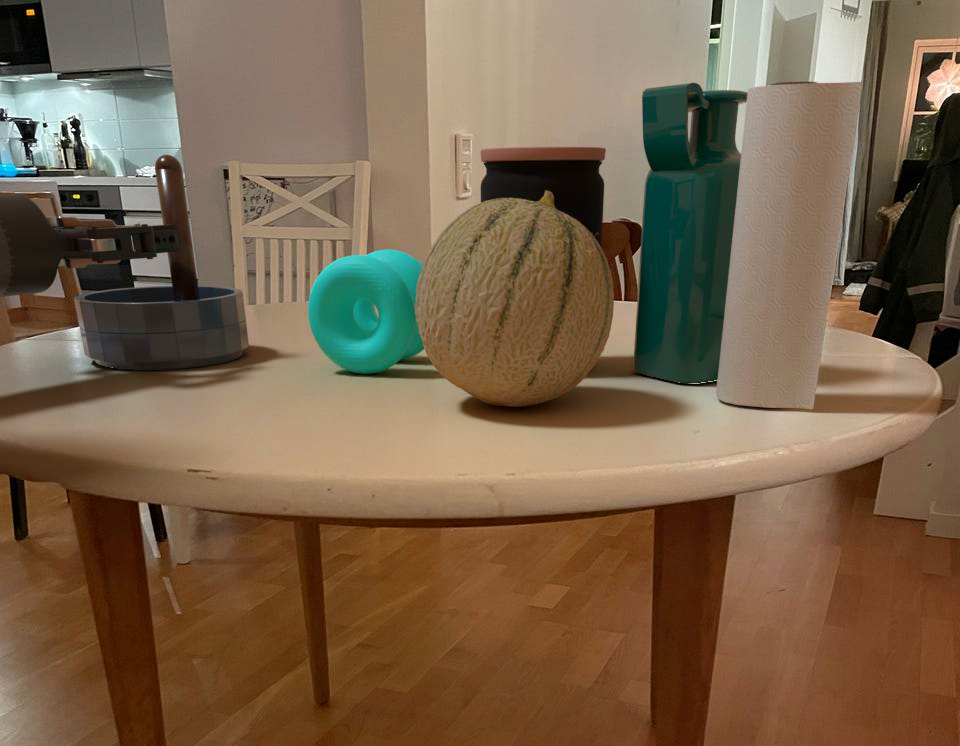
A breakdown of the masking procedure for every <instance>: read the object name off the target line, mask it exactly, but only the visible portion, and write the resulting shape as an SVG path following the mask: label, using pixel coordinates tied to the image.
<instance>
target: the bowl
mask: <svg viewBox="0 0 960 746" xmlns="http://www.w3.org/2000/svg"><path fill="white" fill-rule="evenodd" d="M198 288H199V296H200V299H198V300H186V301H175V300H174V294H173V287H172V285H158V286H157V285H156V286H153V285H152V286H142V287H141V286H137V287H124V288H123V287H122V288H114V289H113V288H112V289H105V290H98V291H91V292H86V293H81V294H78V295H76V296H75V297H73V301H74V307H75V311H76V316H77V322H78V326H79V332H80V338H81V342H82V347H83V352H84V355H85V356H86V357H88V358H89V359H91V360H94V363H95V362H96V363H97V364H99V365H102V366H107V367H113V368H120V369H119V370H122V369H132V370H131V371H168V370H169V371H171V370H182V369H192V368H193V369H194V368H201V367H208V366H215V365H219V364H224V363H227V362H228V363H229V362H231V361H234V360H236V359H237V360H238V358H240V357H242V356H243V351H244V350H247V349H248V348H249V347H250V342H249V334H248V326H247V317H246V309H245V301H244V300H245V299H244V292H243V290H242V289H240V288H236V287H230V286H229V287H228V286H218V285H198ZM96 363H95V364H96ZM97 364H96V365H97ZM99 365H98V366H99ZM102 366H101V367H102ZM133 369H134V370H133Z"/></svg>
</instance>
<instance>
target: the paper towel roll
mask: <svg viewBox="0 0 960 746" xmlns="http://www.w3.org/2000/svg"><path fill="white" fill-rule="evenodd" d="M863 85H864V81H849V82H848V81H846V82H817V81H784V82H783V81H782V82H775V83H771V84H770V85H760V86H754V87H750V88H748V90H747V92H748V94H747V102H746V103H745V104H746V105H745V112H744V113H745V114H744V124H743V132H742V133H743V134H742V141H741V144H742V145H741V150H740V151H741V152H740V153H741V161H740V170H739V180H738V190H737V199H736V209H735V218H734V228H733V237H732V247H731V256H730V266H729V276H728V285H727V295H726V304H725V314H724V323H723V333H722V342H721V352H720V361H719V371H718V381H717V382H716V392H715V393H716V397H717V400H719V401H721V402H724V403H727V404H732V405H737V406H746V407H756V408H757V407H758V408H771V409H785V408H786V409H805V410H806V409H807V410H814V406H815V401H816V400H815V399H816V392H817V386H818V380H819V373H820V368H821V367H820V366H821V359H822V355H823V346H824V339H825V335H826V327H827V321H828V314H829V308H830V301H831V295H832V288H833V281H834V275H835V269H836V261H837V255H838V250H839V241H840V236H841V228H842V223H843V215H844V209H845V203H846V196H847V190H848V183H849V178H850V177H849V176H850V170H851V164H852V158H853V151H854V144H855V137H856V132H857V131H856V130H857V125H858V118H859V110H860V105H861V99H862V92H863Z"/></svg>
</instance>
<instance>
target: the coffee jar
mask: <svg viewBox="0 0 960 746" xmlns="http://www.w3.org/2000/svg"><path fill="white" fill-rule="evenodd" d="M606 152H607V149H606V148H605V147H602V146H601V147H600V146H522V147H520V146H519V147H517V146H515V147H514V146H513V147H494V148H493V147H491V148H482V149H480V161H481V162H482V163H483V165H484V168H485V176H484V177H483V178H482V180H481V183H480V203H482V202H484V201H488V200H492V199H498V198H518V199H525V200H529V201H534V202H536V201H540V199H541V198H542V197H543V196H544V195H545V190H546V191H550V192H552V194H553V196H554V206H555V208H556V209H557V210H559V211H561V212H563V213H565V214H567V215H569V216H570V217H572V218H574V219H576V220H577V221H579V222H580V223H581V224H582V225H583V226H584V227H586V228H587V229H588V231H589V232H590V233H591V234H592V235H593V237H594V238H595V239H596V240H597V242H598V243H599V245H600V247H601V248H602V247H603V246H602V244H603V226H604V225H603V223H604V203H605V201H604V199H605V182H604V181H605V180H604V178H603V177H602V175H601V174H600V167H601V165H602V164H603V161H605V159H606Z"/></svg>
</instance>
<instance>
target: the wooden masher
mask: <svg viewBox="0 0 960 746" xmlns="http://www.w3.org/2000/svg"><path fill="white" fill-rule="evenodd" d="M154 173H155V180H156V187H157V193H158V199H159V200H158V201H159V204H160V212H161V220H162V225H175V226H176V227H177V228H178V232H179V239H180V250H179V251H178V252H168V253H167V259H168V266H169V272H170V279H171V280H170V281H171V286H172V287H173V294H174V300H175V301H186V300H198V299H200V296H199V288H198V286H199V282H198V281H199V280H198V276H197V275H198V274H197V267H196V260H195V253H194V246H193V238H192V231H191V223H190V215H189V210H188V202H187V194H186V187H185V180H184V179H185V178H184V173H183V167H182V164H181V162H180V161H179V160H178V159H177V158H176V157H175V156H174V155H170V154H163V155H160V156H159V157H157V159H156V160H155V163H154Z"/></svg>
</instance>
